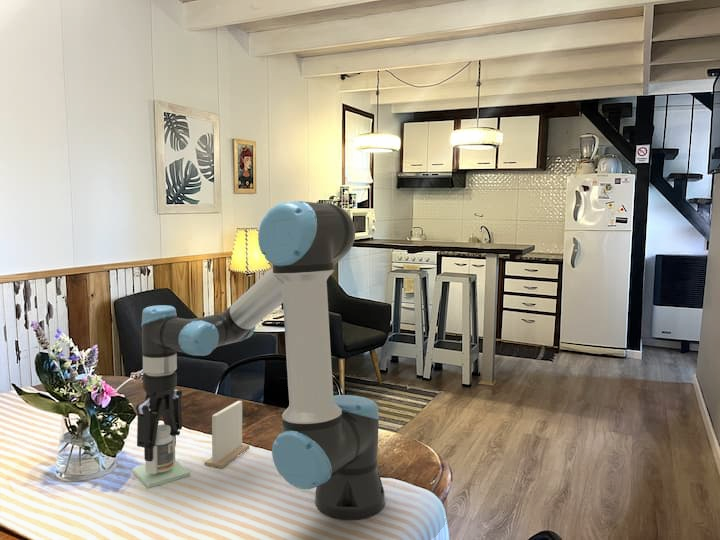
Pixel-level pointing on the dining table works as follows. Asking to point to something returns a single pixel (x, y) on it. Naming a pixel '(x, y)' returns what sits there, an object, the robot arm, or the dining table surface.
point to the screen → (226, 436)
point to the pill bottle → (164, 448)
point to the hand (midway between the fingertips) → (160, 466)
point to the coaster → (160, 475)
